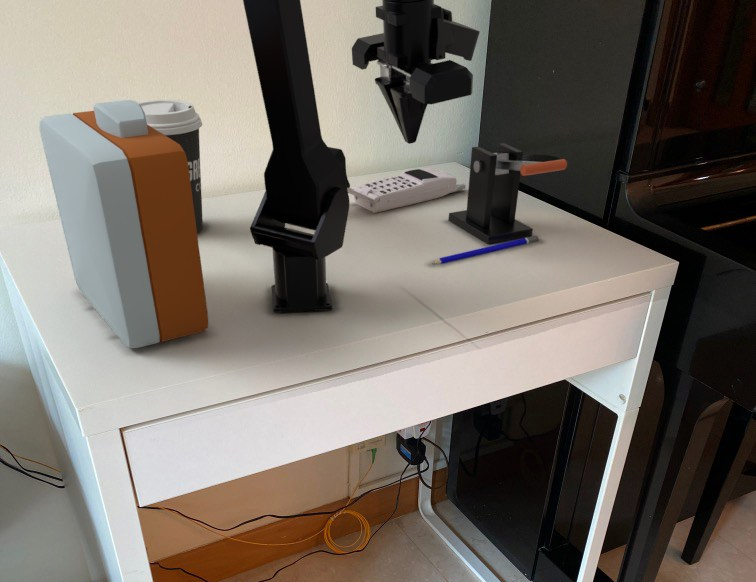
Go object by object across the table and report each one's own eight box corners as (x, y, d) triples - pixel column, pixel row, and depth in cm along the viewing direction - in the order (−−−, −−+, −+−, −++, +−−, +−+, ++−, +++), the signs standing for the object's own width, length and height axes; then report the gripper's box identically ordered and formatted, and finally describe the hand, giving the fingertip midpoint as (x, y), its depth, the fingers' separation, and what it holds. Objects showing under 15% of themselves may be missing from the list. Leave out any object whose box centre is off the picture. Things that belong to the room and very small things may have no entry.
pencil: (534, 241, 105) (535, 234, 104) (539, 243, 104) (540, 236, 103) (430, 266, 97) (430, 258, 97) (434, 268, 97) (434, 261, 96)
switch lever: (566, 175, 95) (567, 153, 94) (526, 181, 93) (526, 159, 92) (508, 170, 104) (508, 150, 103) (470, 176, 102) (470, 156, 101)
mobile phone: (305, 170, 107) (445, 142, 119) (307, 213, 111) (442, 182, 123) (330, 182, 103) (472, 152, 115) (331, 226, 107) (468, 193, 119)
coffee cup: (192, 246, 101) (174, 119, 91) (127, 236, 103) (104, 111, 93) (226, 222, 108) (214, 102, 98) (165, 213, 110) (147, 95, 101)
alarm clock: (213, 335, 82) (185, 120, 69) (130, 356, 78) (85, 133, 65) (150, 274, 94) (116, 81, 81) (76, 290, 90) (28, 90, 77)
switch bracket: (531, 237, 105) (543, 156, 98) (487, 245, 102) (496, 162, 96) (490, 214, 112) (498, 136, 105) (448, 221, 109) (453, 142, 103)
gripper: (517, 0, 83) (507, 151, 94) (427, -30, 95) (428, 107, 106) (427, 18, 80) (427, 173, 91) (345, -15, 92) (354, 125, 103)
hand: (410, 142), depth 98 cm, fingers closed
